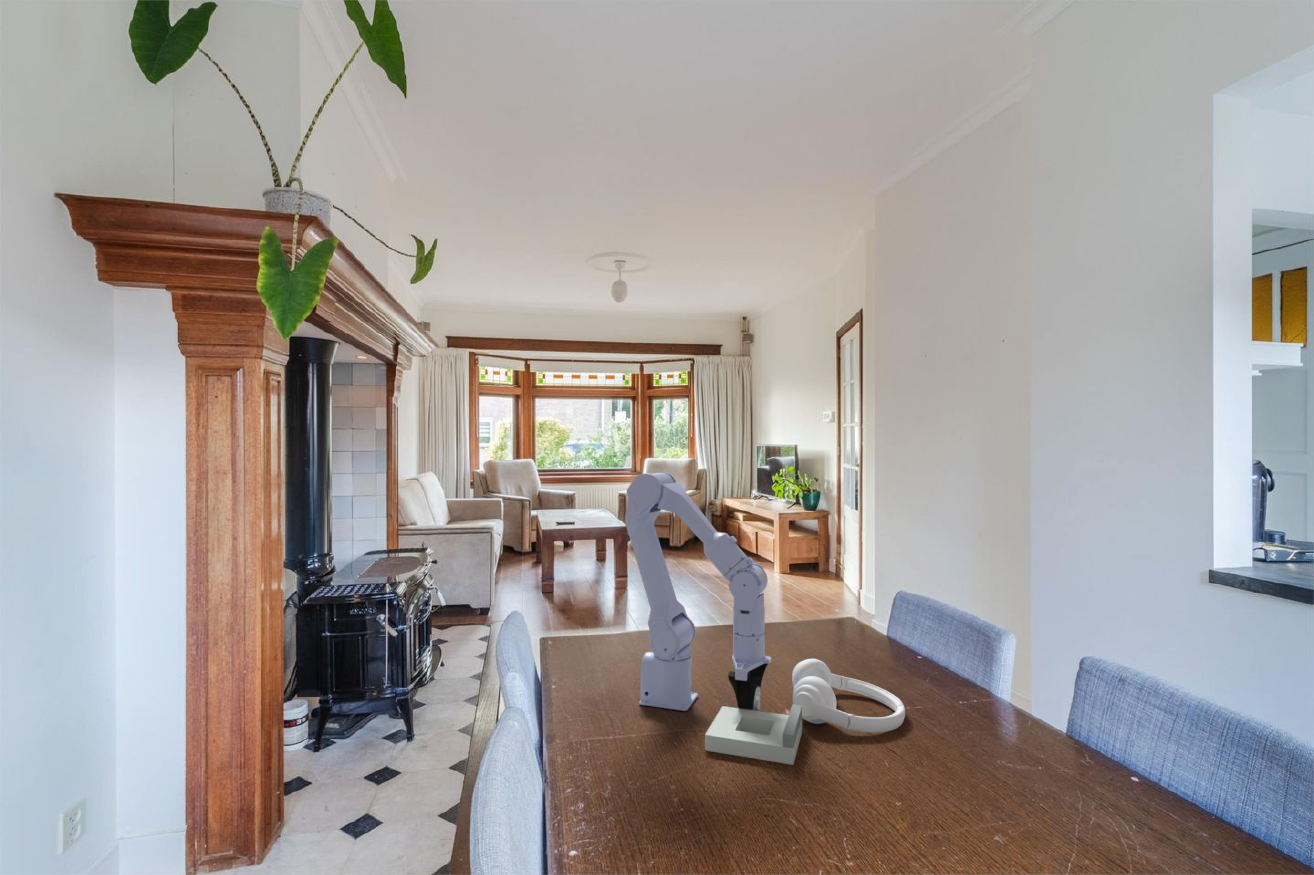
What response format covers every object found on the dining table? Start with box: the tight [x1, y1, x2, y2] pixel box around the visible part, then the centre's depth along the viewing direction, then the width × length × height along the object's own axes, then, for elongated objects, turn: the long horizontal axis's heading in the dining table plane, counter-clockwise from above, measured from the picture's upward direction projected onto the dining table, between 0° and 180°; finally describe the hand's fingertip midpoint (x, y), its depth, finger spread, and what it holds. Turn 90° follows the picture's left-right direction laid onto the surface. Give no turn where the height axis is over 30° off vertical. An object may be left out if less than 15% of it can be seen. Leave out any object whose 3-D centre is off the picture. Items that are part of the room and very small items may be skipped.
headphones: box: [791, 658, 906, 733], centre depth 117 cm, size 20×8×20 cm
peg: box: [753, 685, 761, 711], centre depth 116 cm, size 4×4×5 cm
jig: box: [704, 703, 803, 766], centre depth 105 cm, size 14×12×4 cm
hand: (748, 706), depth 116 cm, fingers open, 6 cm apart
